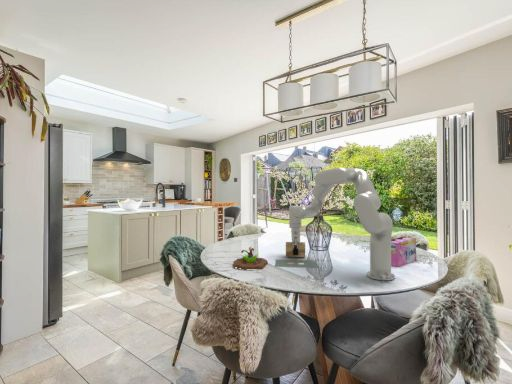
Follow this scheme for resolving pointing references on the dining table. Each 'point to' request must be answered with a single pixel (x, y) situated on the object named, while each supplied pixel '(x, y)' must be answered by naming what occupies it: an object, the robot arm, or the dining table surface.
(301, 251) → the oak block
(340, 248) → the dining table surface
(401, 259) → the gum box
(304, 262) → the mat
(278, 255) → the dining table surface
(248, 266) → the plant
